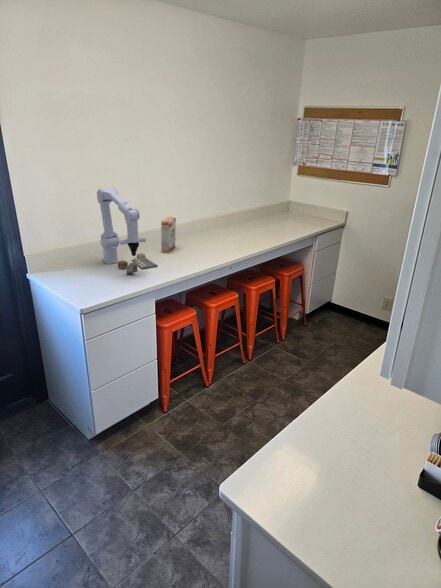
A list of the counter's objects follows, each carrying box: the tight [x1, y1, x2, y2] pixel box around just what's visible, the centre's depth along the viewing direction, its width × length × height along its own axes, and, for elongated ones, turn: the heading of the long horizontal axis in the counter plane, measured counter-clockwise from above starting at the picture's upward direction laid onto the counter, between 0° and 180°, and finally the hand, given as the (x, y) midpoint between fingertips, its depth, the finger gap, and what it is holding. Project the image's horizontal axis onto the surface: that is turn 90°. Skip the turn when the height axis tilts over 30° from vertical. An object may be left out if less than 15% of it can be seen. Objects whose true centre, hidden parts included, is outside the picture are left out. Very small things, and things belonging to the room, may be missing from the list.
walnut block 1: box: [117, 259, 129, 271], centre depth 233 cm, size 4×4×4 cm
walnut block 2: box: [128, 262, 138, 273], centre depth 230 cm, size 4×4×4 cm
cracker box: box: [160, 216, 177, 254], centre depth 265 cm, size 14×6×21 cm, turn 168°
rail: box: [131, 256, 159, 270], centre depth 241 cm, size 16×10×2 cm, turn 34°
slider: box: [136, 252, 146, 261], centre depth 244 cm, size 4×4×4 cm
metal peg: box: [126, 264, 134, 276], centre depth 224 cm, size 4×4×5 cm
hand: (133, 255), depth 223 cm, fingers closed
